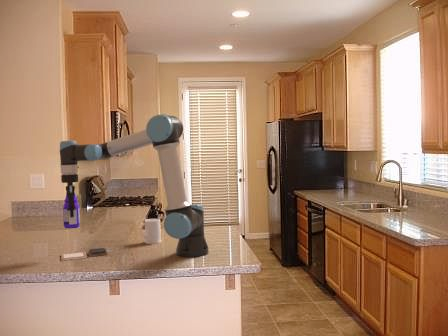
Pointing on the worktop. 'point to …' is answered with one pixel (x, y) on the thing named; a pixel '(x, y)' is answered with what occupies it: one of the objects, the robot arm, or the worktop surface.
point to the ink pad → (97, 252)
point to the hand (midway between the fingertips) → (71, 222)
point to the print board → (73, 255)
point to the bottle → (66, 213)
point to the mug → (152, 231)
